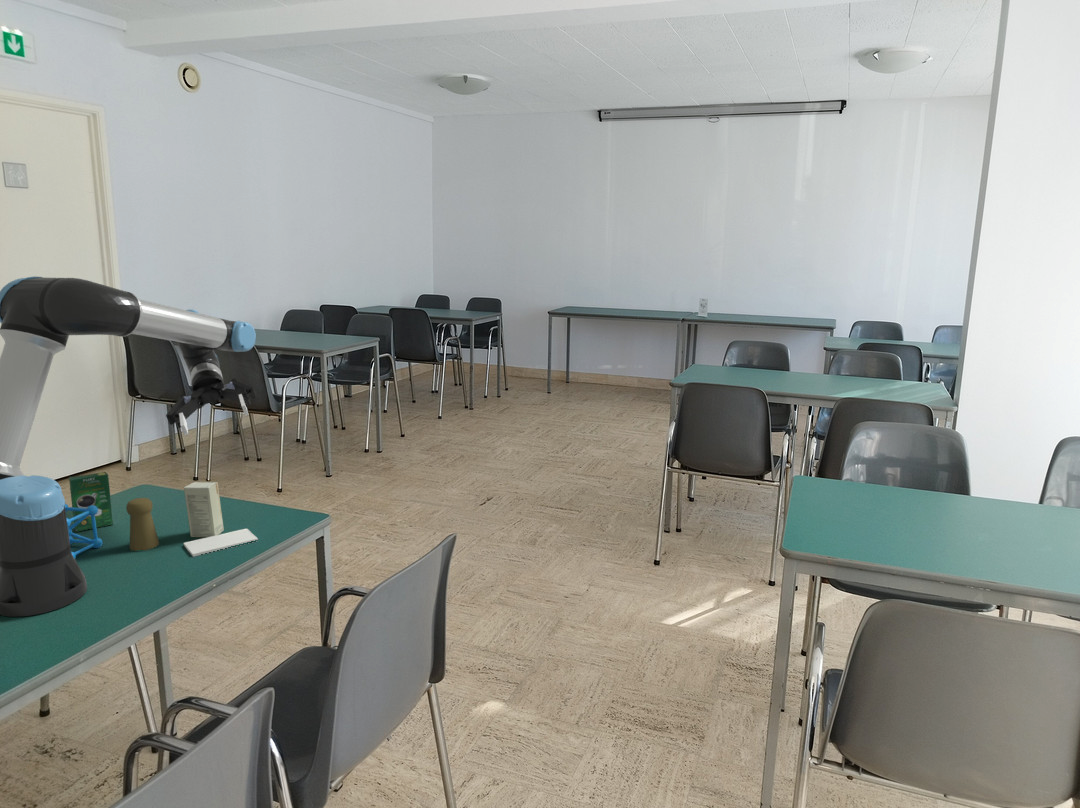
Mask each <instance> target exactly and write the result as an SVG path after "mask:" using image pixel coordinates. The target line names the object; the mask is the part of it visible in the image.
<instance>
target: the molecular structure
mask: <svg viewBox="0 0 1080 808" xmlns="http://www.w3.org/2000/svg"><path fill="white" fill-rule="evenodd" d="M65 511H66V513H67V512H68V511H69V512H70V511H71V512H73V511H82V512H84V513H82V514H79V515H77V516H75V517H70V518H68V517H66V518H67V526H68V533H69V540H70V546H71V545H72V544H73V543H74V544H88V545H86V546H84V547H82V548H80V549H78V550H76V551H72V550H71V553H72V555H73V557H74V559H75V560H76V557H77V555H79V554H82V553H83V552H85V551H87V550H89V549H91V548H94V549H99V548H101V547H102V545H103V544H104V543H103V539H102V538H100V537H99V536H98V529H97V528H96V521H95V515H96V514H97V513H98V508H97V507H96V506H94V505H91V506H89V507H87V509H86V508H73V507H72V506H71V507H69V505H68V504H67V503H65ZM88 516H91V520H92V527H93V529H92V534H93V538H89V537H87V536H84V535H82V534H78V533H76V532H75V533H74V532H73V529H75V526H77V525H78V524H79V523H80V522H81V521H83V520H84V519H85V518H86V517H88ZM79 518H80V519H79ZM76 519H79V520H77V521H76V522H75V523H74V520H76ZM72 522H73V524H72ZM74 538H76V539H74Z"/></svg>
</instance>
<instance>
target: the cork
mask: <svg viewBox="0 0 1080 808" xmlns="http://www.w3.org/2000/svg"><path fill="white" fill-rule="evenodd" d="M153 508H154V507H153V501H152V500H151V499H150V498H149V497H148V498H147V497H138V498H133V499H131V500H129V501H128V502H127V504H126V508H125V509H126V512H127V514H128V515H129V517H130V518H129V523H130V524H129V550H130V549H131V550H130V551H133V550H134V551H133V552H138V551H137V550H144V551H148V549H149V550H152V549H154V547H155V548H157V547H158V546H159V545H160V541H159V537H158V534H157V530H156V529H157V528H156V526H155V523H154V519H153V515H152V511H153ZM157 545H158V546H157ZM151 548H152V549H151Z"/></svg>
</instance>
